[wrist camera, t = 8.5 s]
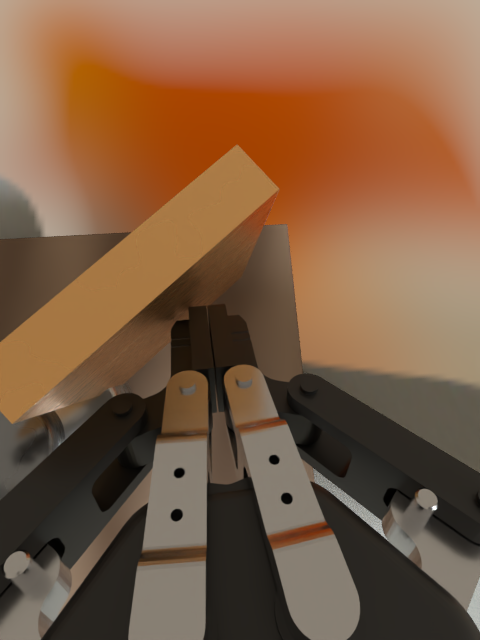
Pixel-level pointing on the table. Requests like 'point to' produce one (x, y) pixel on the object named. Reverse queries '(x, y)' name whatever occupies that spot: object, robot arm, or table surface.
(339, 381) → the table surface
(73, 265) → the base
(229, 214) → the lock handle
